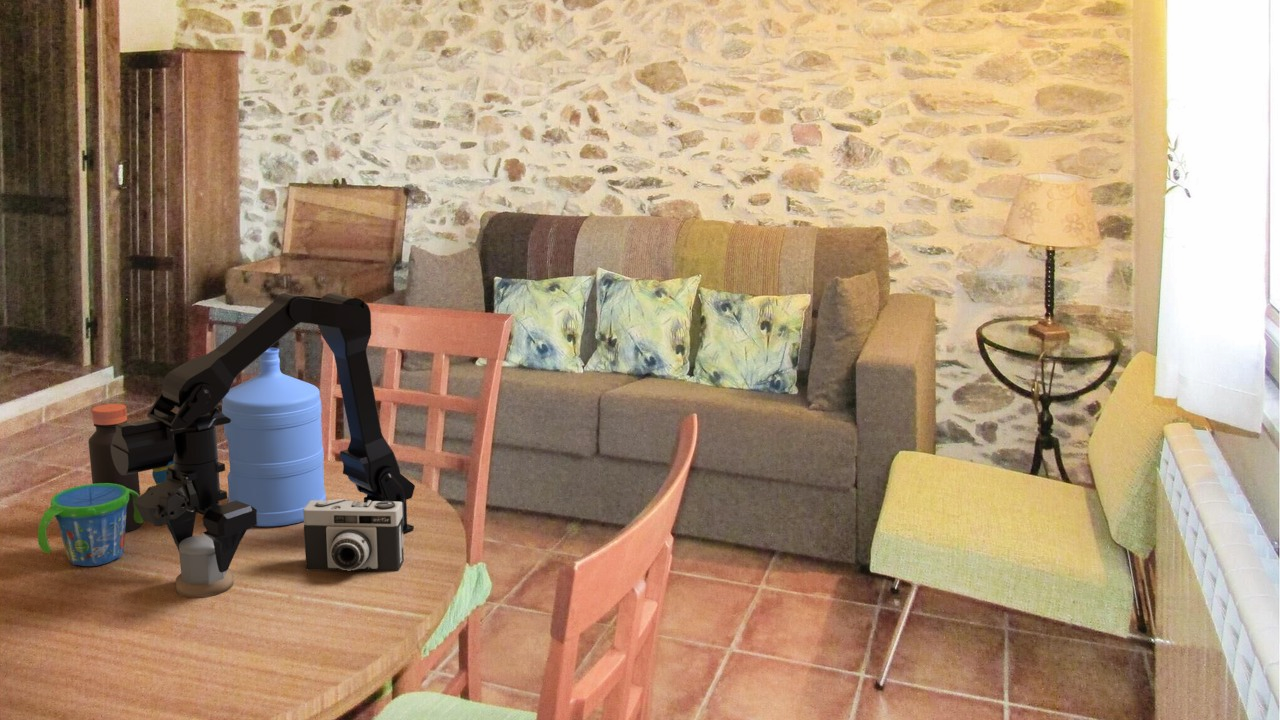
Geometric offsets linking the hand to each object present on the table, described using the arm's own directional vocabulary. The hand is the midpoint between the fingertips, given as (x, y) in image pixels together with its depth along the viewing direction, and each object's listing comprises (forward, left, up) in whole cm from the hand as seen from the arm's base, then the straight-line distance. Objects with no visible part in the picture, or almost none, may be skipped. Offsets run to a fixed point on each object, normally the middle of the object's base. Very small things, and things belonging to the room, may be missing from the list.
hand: (203, 563), depth 158 cm
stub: (0, 0, -4) cm, 4 cm away
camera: (-16, +12, -4) cm, 21 cm away
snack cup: (+4, -22, -4) cm, 22 cm away
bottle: (-5, -31, -4) cm, 31 cm away
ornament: (-14, -32, -4) cm, 35 cm away
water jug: (-25, -17, -4) cm, 30 cm away
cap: (0, 0, -2) cm, 2 cm away
